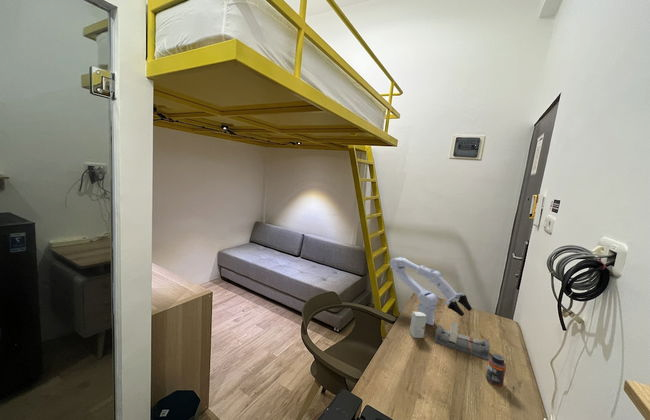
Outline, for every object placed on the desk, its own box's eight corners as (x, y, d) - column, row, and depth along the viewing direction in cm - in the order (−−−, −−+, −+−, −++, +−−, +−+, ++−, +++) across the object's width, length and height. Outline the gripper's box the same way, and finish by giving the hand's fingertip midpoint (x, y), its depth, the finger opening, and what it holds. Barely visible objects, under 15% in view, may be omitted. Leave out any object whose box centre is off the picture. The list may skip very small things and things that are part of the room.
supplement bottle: (499, 378, 103) (504, 354, 101) (505, 389, 97) (510, 363, 96) (483, 373, 105) (488, 349, 103) (487, 384, 99) (492, 359, 98)
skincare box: (413, 338, 125) (416, 316, 124) (408, 332, 130) (411, 311, 128) (424, 337, 126) (427, 316, 125) (419, 332, 130) (422, 311, 129)
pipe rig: (434, 342, 123) (436, 332, 122) (435, 330, 134) (436, 320, 133) (490, 361, 113) (492, 350, 112) (486, 346, 124) (488, 336, 123)
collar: (449, 340, 123) (451, 325, 122) (449, 335, 128) (451, 320, 127) (455, 342, 122) (458, 327, 121) (455, 337, 127) (457, 322, 126)
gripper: (443, 290, 128) (464, 314, 120) (458, 282, 135) (479, 304, 127) (436, 297, 132) (455, 320, 124) (451, 289, 140) (470, 310, 132)
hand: (466, 312), depth 126 cm, fingers open, 7 cm apart
